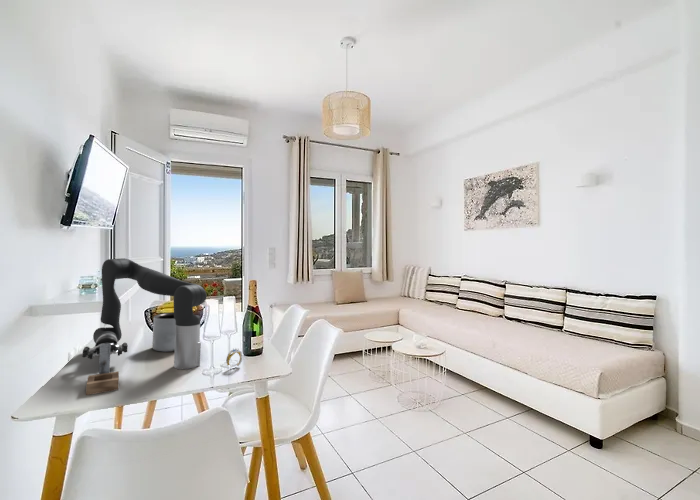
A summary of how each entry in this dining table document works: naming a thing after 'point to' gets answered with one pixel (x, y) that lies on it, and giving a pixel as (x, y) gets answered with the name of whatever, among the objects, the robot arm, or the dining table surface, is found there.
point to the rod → (104, 358)
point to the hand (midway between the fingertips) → (105, 354)
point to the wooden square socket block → (102, 383)
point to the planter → (164, 332)
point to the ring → (233, 354)
